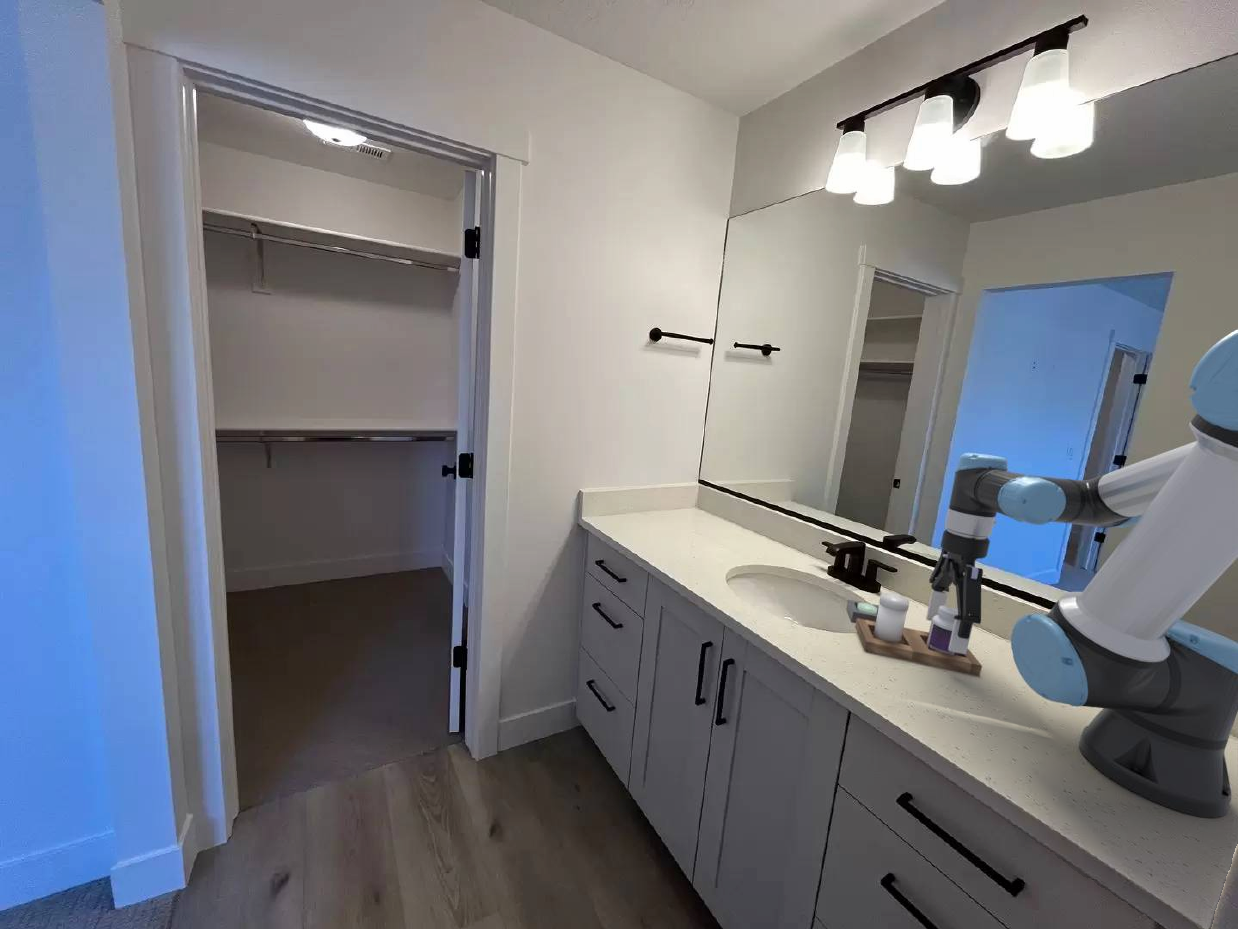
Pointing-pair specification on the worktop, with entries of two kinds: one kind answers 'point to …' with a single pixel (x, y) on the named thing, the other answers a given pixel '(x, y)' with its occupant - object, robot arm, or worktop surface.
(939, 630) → the pill bottle
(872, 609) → the button
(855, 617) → the switch box
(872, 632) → the walnut caddy
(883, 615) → the bottle
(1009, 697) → the worktop surface
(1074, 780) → the worktop surface
